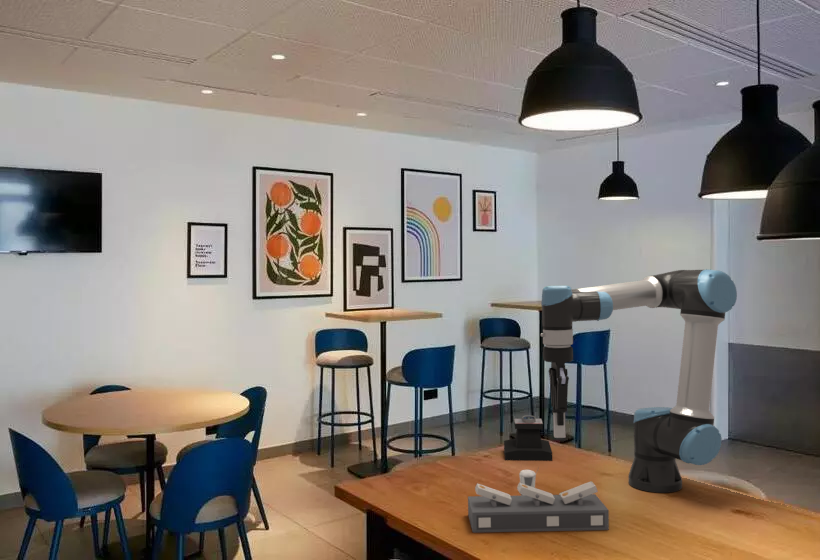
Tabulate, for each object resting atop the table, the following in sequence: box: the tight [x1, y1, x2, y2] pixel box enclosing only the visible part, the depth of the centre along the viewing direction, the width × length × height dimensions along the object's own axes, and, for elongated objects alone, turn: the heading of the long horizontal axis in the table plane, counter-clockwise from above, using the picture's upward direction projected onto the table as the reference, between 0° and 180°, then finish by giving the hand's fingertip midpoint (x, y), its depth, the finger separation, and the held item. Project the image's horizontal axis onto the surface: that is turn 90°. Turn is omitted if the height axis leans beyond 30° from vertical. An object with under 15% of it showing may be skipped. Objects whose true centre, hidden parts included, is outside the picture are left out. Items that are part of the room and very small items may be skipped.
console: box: [467, 493, 610, 533], centre depth 177 cm, size 34×12×6 cm, turn 90°
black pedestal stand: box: [503, 414, 553, 462], centre depth 240 cm, size 16×14×15 cm
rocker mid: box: [516, 482, 555, 504], centre depth 177 cm, size 9×5×2 cm, turn 91°
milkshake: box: [519, 466, 539, 496], centre depth 191 cm, size 4×5×10 cm
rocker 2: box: [558, 480, 598, 504], centre depth 177 cm, size 9×5×2 cm, turn 90°
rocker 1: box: [474, 482, 512, 505], centre depth 177 cm, size 9×5×2 cm, turn 91°
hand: (559, 436), depth 177 cm, fingers closed
